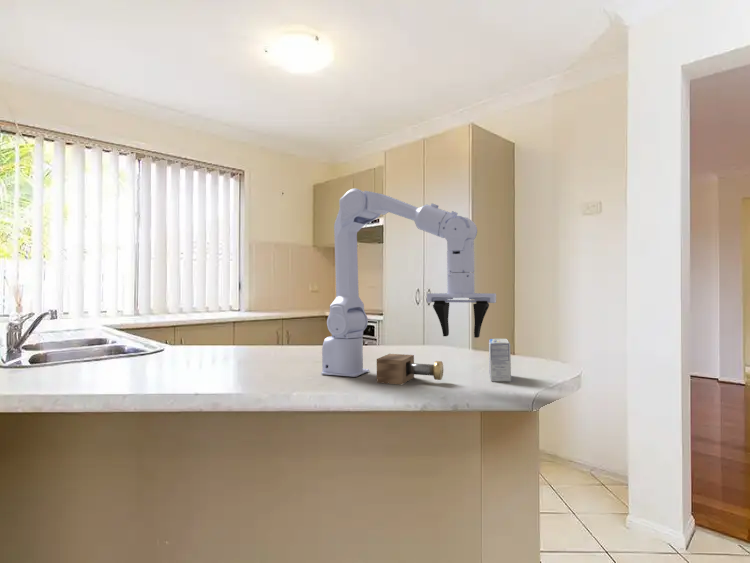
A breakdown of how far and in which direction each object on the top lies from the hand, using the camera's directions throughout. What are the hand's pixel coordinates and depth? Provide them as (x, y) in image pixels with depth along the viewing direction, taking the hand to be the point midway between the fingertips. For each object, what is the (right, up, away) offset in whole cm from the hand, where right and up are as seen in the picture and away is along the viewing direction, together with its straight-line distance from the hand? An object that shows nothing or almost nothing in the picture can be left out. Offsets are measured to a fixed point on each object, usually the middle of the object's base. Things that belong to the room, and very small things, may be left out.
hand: (461, 336), depth 101 cm
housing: (-14, -11, +6) cm, 18 cm away
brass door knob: (-8, -10, +4) cm, 13 cm away
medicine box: (+10, -11, +7) cm, 16 cm away
